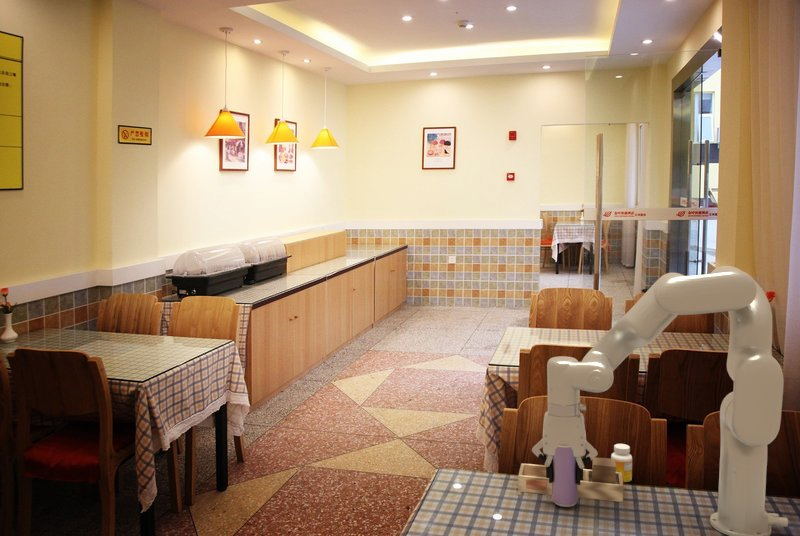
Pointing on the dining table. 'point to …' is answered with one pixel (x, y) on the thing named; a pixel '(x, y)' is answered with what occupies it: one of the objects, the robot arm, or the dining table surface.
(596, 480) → the walnut block
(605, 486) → the rack
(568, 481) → the beverage can
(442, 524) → the dining table surface
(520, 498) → the dining table surface
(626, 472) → the supplement bottle
